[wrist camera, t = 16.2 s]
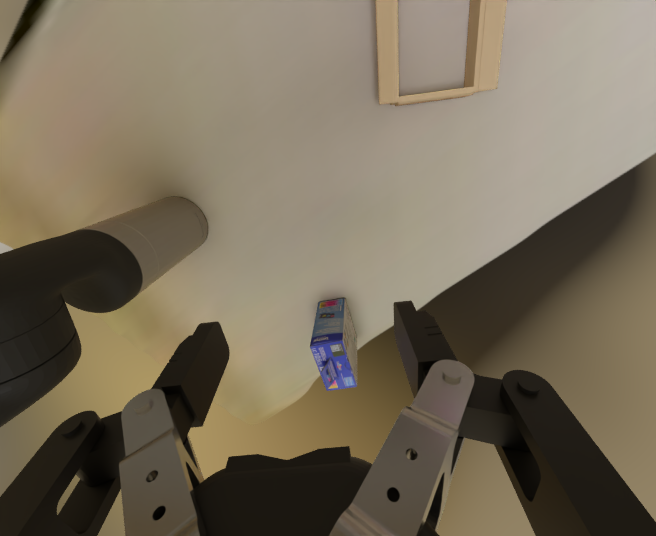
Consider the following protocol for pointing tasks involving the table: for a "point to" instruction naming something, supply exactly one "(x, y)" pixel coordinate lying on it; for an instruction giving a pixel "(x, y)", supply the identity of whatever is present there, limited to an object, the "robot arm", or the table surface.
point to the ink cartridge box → (335, 345)
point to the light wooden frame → (479, 57)
